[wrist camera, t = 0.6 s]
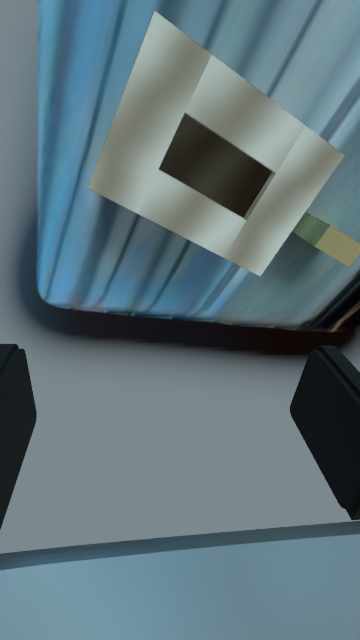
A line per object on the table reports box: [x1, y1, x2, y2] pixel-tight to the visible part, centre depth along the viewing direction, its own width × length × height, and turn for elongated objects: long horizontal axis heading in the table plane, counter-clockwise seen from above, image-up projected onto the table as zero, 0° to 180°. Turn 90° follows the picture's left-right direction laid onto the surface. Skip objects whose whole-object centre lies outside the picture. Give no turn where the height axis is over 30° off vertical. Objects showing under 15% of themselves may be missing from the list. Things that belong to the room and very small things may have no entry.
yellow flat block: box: [292, 212, 360, 267], centre depth 35 cm, size 5×2×6 cm, turn 61°
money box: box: [88, 11, 345, 276], centre depth 28 cm, size 16×11×10 cm
